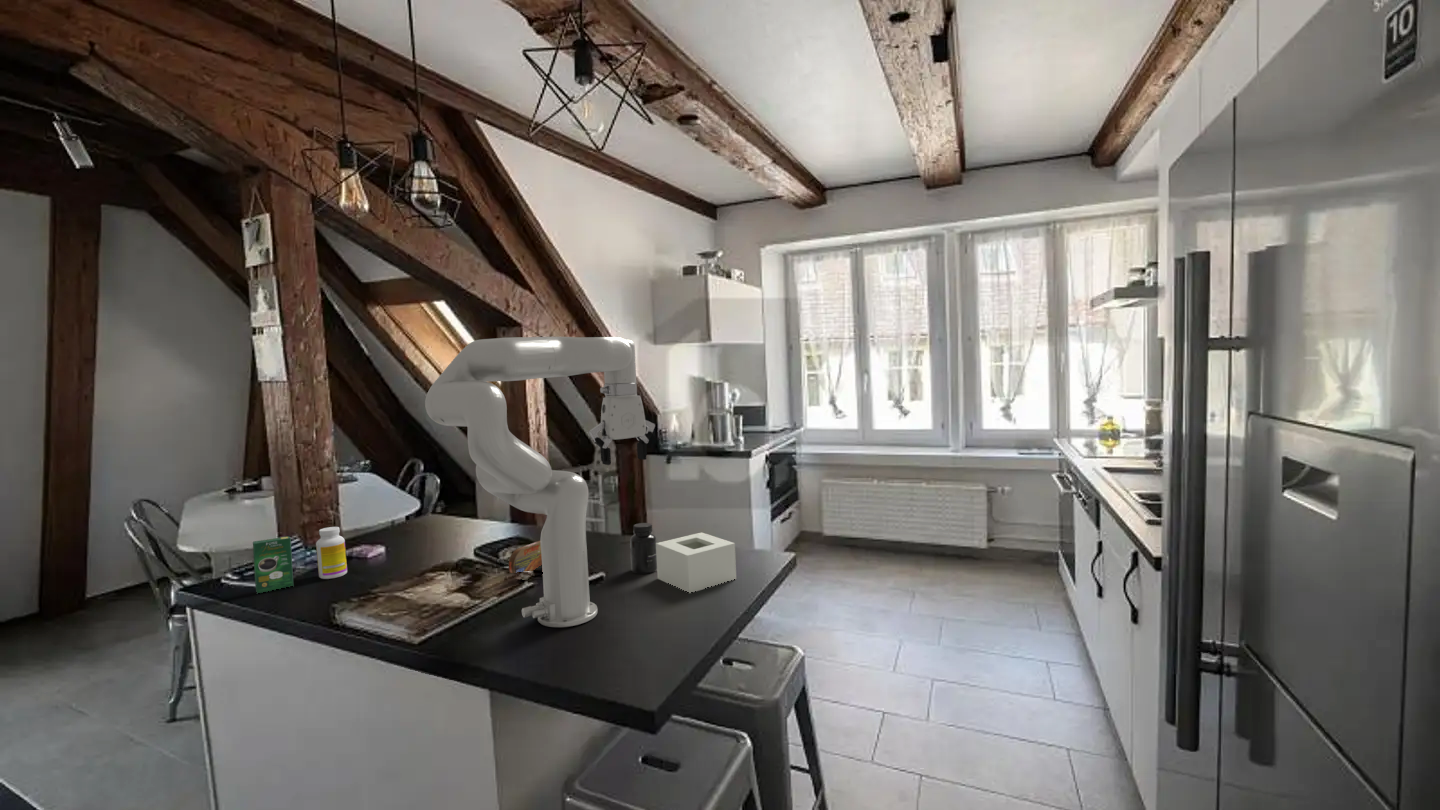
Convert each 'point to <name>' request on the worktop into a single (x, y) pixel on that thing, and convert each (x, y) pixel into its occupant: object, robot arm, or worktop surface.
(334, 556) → the supplement bottle
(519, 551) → the tin
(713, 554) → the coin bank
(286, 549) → the coffee box
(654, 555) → the supplement bottle
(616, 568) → the worktop surface
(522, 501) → the robot arm
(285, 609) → the worktop surface
